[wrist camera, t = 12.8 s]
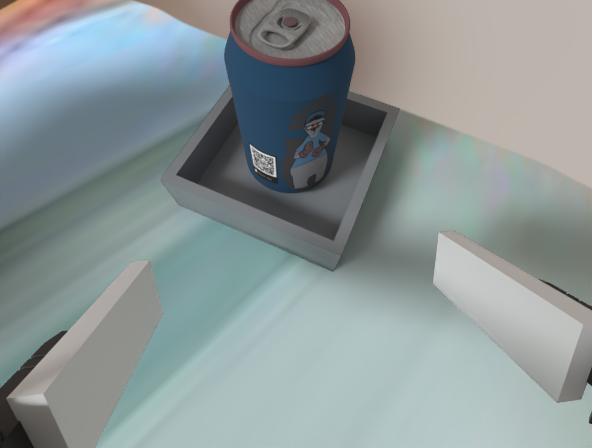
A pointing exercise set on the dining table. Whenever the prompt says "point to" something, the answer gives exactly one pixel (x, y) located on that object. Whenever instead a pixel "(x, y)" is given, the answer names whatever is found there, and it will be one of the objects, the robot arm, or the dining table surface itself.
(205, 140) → the bin
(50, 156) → the dining table surface
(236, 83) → the soda can
